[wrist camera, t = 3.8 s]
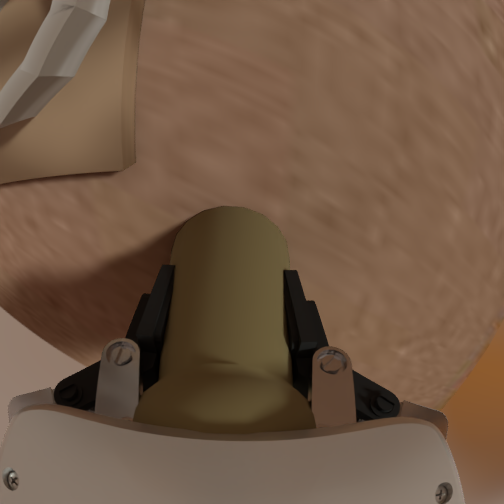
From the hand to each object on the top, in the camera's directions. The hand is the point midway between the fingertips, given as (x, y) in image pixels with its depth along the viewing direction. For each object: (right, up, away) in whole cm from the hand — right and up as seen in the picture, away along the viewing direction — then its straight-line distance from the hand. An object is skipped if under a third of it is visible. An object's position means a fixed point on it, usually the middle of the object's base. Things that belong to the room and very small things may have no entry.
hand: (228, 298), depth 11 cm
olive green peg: (0, +2, +3) cm, 3 cm away
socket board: (-10, +13, -5) cm, 17 cm away
